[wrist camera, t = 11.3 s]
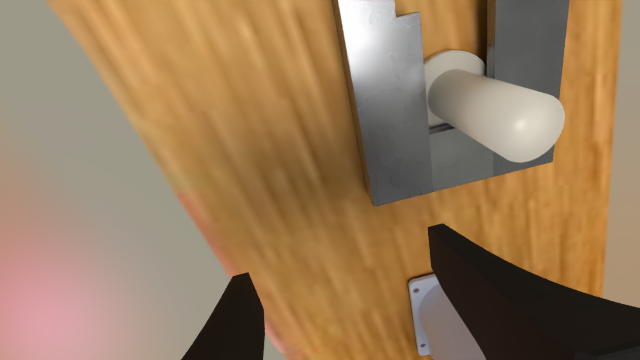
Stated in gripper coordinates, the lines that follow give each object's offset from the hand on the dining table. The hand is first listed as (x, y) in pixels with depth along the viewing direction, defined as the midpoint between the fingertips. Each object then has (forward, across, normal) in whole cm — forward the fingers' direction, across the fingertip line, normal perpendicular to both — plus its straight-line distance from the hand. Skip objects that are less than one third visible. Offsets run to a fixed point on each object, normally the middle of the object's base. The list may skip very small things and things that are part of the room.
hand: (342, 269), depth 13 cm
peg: (+10, -9, -3) cm, 14 cm away
